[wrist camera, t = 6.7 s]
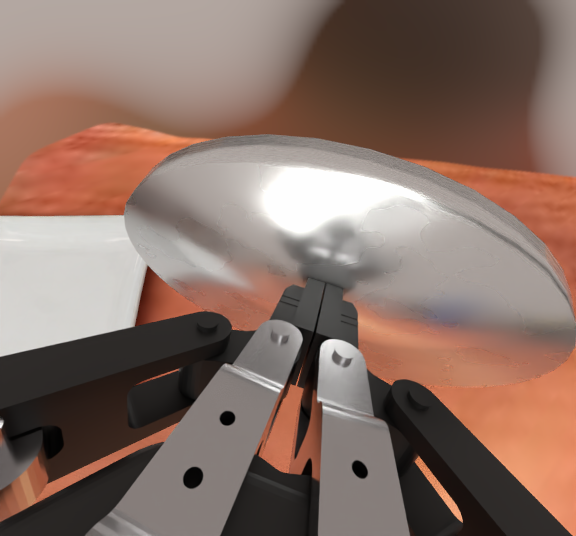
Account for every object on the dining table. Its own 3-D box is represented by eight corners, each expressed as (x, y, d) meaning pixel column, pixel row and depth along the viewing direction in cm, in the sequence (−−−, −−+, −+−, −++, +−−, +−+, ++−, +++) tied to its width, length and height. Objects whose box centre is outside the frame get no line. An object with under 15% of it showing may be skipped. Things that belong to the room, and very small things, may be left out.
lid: (409, 382, 25) (406, 407, 24) (199, 306, 27) (188, 327, 26) (878, 283, 6) (964, 396, 5) (17, 56, 8) (-49, 97, 7)
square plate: (-17, 227, 40) (-47, 213, 37) (168, 227, 40) (156, 213, 37) (-109, 439, 31) (-162, 449, 27) (133, 438, 31) (112, 447, 27)
